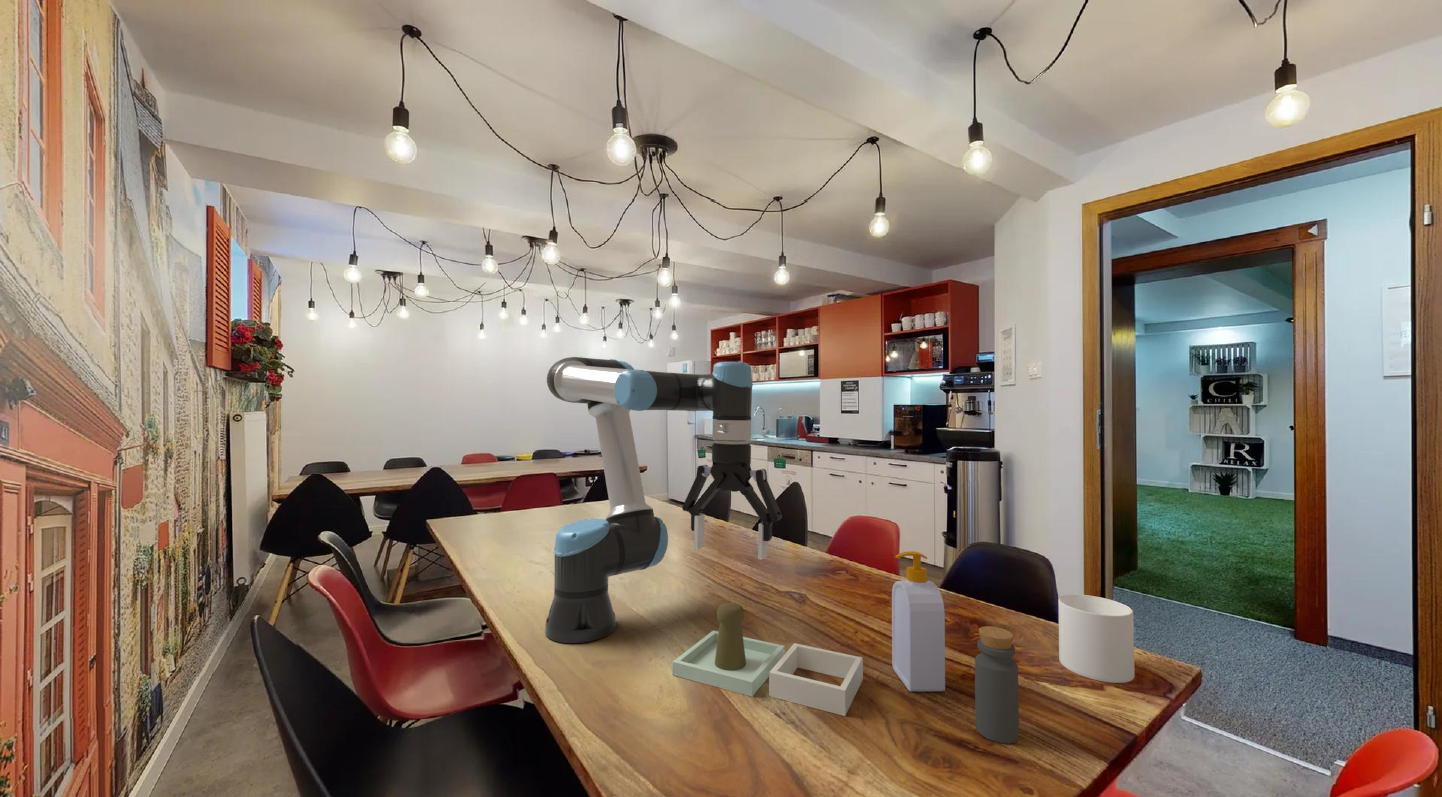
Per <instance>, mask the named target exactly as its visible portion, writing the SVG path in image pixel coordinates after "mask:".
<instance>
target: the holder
mask: <svg viewBox="0 0 1442 797" xmlns="http://www.w3.org/2000/svg"><path fill="white" fill-rule="evenodd" d="M863 664H864V658H863V656H856V655H852V654H848V653H842V652H839V651H832V650H829V649H823V648H820V647H815V646H809V645H805V644H799V643H793V644H792V645H791V646H790V647H789V649H788V650H787V651H786V652H785V655H784V656H783V657H782V658H781V659H780V660H779V661H778V663H777V664H776V665H775V666H774V667H773V668H772V670H771V671H770V672H769V677H768V679H769V680H768V697H771V698H774V699H778V700H782V701H786V702H791V703H794V704H798V705H802V706H805V707H809V708H812V709H816V710H821V711H825V712H828V713H832V714H835V715H840V716H843V717H846V716H847V713H848V711H849V709H850V707H851V706H852V703H853V701H854V699H855V697H856V694H857V693H858V690H859V688H860V686H861V685H862V682H863V680H864V678H863V677H864V674H863V672H864V665H863ZM798 668H799V669H802V670H806V671H811V672H815V673H820V674H823V675H827V676H832V677H837V678H841V679H843V681H842V683H841V685H840V686H839V685H836V684H832V683H828V682H823V681H820V680H817V679H812V678H808V677H802V676H799V675H794V673H795V672H796V670H797V669H798Z"/></svg>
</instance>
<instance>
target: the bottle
mask: <svg viewBox="0 0 1442 797" xmlns="http://www.w3.org/2000/svg"><path fill="white" fill-rule="evenodd" d="M978 633H979V634H978V635H979V639H978V640H977V649H978V650H979V651H980V652H981V653H979V654H976V656H975V657H974V691H975V692H974V696H975V697H974V700H975V704H974V706H975V711H974V712H975V728H976V731H977V732H978V733H979V734H980V735H981V736H982V737H984V738H986V739H987V740H990V741H993V742H995V743H999V744H1007V745H1009V744H1014V743H1016V742H1018V740H1019V737H1020V725H1019V724H1020V718H1019V716H1020V714H1019V713H1020V711H1019V707H1020V704H1019V699H1020V698H1019V666H1018V664H1017V663H1016V661H1015V660H1014V659H1012V657H1014V656H1015V655H1016V647H1015V645H1013V641H1014V633H1013V632H1011V631H1009V630H1007V629H1005V628H1002V627H998V626H987V625H986V626H981V627H979V628H978Z"/></svg>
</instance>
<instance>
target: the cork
mask: <svg viewBox="0 0 1442 797" xmlns="http://www.w3.org/2000/svg"><path fill="white" fill-rule="evenodd" d="M744 617H745V611H744V609H743V606H742V605H741V604H739V603H736V602H724V603H722V604H720V605H719V606H718V607H717V610H716V618H717V621H718V622H719V626H718V632H719V633H718V641H717V649H716V657H715V665H716V667H718V668H720V669H722V670H727V671H733V670H739V669H742V668H743V667H745V665H746V658H745V650H744V642H743V637H744V636H743V628H742V622H743V621H744Z"/></svg>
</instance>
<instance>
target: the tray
mask: <svg viewBox="0 0 1442 797" xmlns="http://www.w3.org/2000/svg"><path fill="white" fill-rule="evenodd" d="M718 633H719V630H714V629H713V630H712V631H711V632H709V633H708V634H706V635H705V636H704V637H703V638H701V639H700V640H699V641H697V642H696V643H695V644H693V645H692V646H690V648H689V649H687V650H686V651H685V652H683V653H682V654H681V655H679V656H678V657H677V658H675V659H674V660H673V661H671V662H672V665H671V666H672V671H671V672H672V673H671V674H672V676H675V677H678V678H682V679H686V680H689V681H693V682H696V683H699V684H700V683H701V684H705V685H708V686H711V687H715V688H718V689H724V690H727V691H731V692H734V693H738V694H741V695H745V696H749V697H753V696H754V695H755V694H756V693H757V691H758V690H759V689H761V687H762V686H763V685H764V683H765V682H766V681H767V680H768V679H769V672H770V671H771V670H772V668H773V667H774V666H775V665H776V664H777V663H778V661H779V660H780V659H781V658H782V657H783V656H784V655H785V653H786V652H785V651H786V650H785V649H786V646H785V645H784V644H778V643H774V642H769V641H763V640H760V639H754V638H750V637H747V636H746V637H745V636H743V642H744V650H745V658H746V665H745V667H743V668H742V669H739V670H733V671H727V670H722V669H720V668H718V667H716V665H715V657H716V649H717V641H718Z"/></svg>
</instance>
